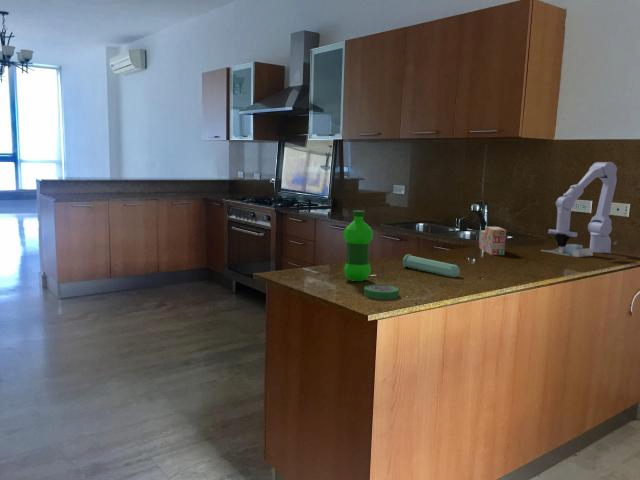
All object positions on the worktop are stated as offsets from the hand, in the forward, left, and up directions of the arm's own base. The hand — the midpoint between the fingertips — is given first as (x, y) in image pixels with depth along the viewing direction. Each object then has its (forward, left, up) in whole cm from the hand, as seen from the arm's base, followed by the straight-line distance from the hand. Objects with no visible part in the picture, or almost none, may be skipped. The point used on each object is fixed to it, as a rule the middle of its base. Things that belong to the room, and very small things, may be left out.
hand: (561, 250), depth 264 cm
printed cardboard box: (+25, -20, -2) cm, 32 cm away
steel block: (0, +7, -1) cm, 7 cm away
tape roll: (+127, +31, -3) cm, 131 cm away
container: (+87, +8, -2) cm, 88 cm away
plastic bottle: (+122, +9, -2) cm, 122 cm away
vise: (0, +3, -2) cm, 4 cm away
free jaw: (0, +3, -1) cm, 3 cm away
